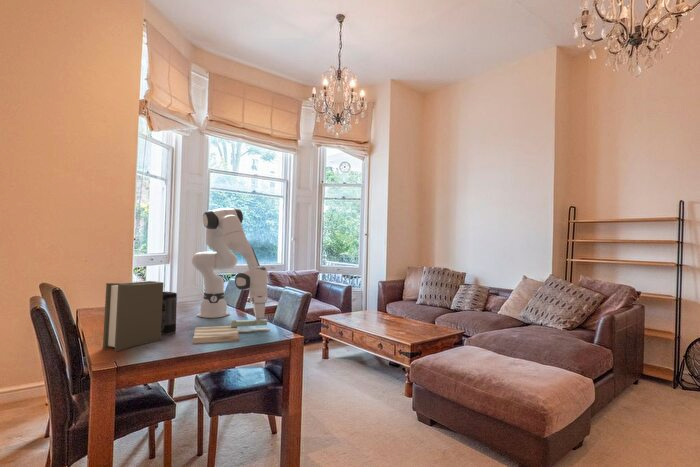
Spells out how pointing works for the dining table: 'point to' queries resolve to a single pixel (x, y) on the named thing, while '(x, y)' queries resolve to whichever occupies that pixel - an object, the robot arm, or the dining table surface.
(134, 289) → the book
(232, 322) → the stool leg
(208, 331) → the wooden cutting board
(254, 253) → the robot arm
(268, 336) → the dining table surface
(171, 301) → the electronic device
